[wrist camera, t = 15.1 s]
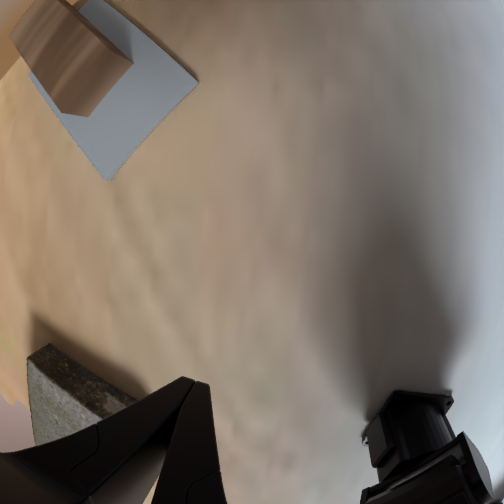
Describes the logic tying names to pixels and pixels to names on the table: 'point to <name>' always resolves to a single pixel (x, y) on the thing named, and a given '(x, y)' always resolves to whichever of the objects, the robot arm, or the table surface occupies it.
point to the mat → (125, 94)
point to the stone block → (67, 395)
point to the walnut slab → (68, 56)
